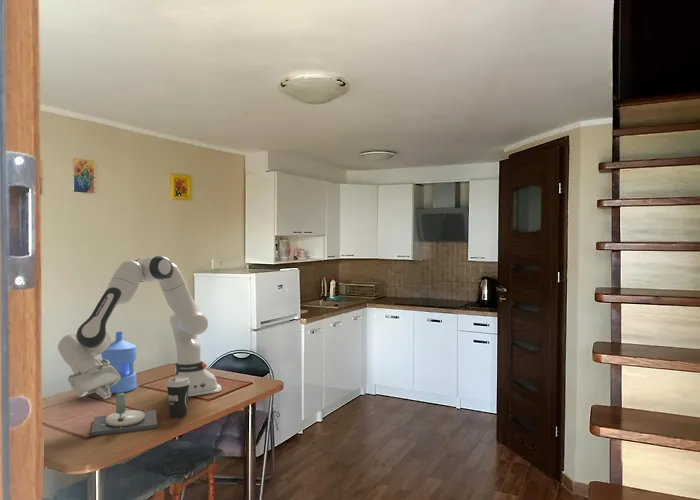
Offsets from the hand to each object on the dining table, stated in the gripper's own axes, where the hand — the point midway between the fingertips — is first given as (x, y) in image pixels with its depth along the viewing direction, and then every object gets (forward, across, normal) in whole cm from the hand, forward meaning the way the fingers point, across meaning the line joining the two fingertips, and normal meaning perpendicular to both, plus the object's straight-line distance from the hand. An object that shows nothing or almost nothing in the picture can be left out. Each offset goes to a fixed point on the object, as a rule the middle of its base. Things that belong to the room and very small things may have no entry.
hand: (108, 397), depth 199 cm
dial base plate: (+11, +5, +6) cm, 13 cm away
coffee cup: (+20, +21, -3) cm, 29 cm away
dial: (+10, +5, +4) cm, 12 cm away
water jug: (-15, +44, +32) cm, 57 cm away
